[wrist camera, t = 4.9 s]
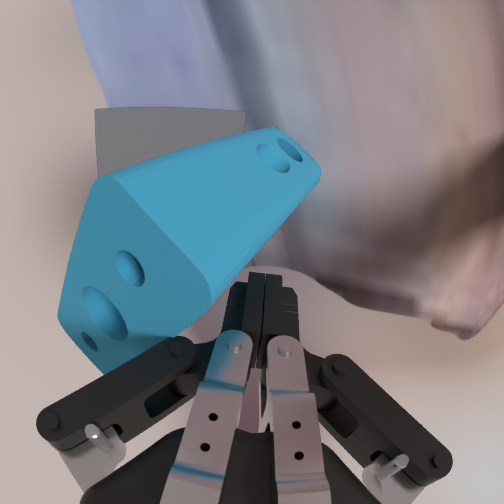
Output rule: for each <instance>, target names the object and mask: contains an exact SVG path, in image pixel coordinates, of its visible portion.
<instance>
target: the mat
mask: <svg viewBox="0 0 504 504" xmlns="http://www.w3.org/2000/svg"><path fill="white" fill-rule="evenodd" d="M245 118H246V112H242V111H231V110H219V109H203V108H180V107H128V108H106V109H96V110H95V136H96V154H97V167H98V177H101V176H103V175H106V174H109V173H111V172H114V171H117V170H119V169H122V168H125V167H128V166H131V165H133V164H136V163H139V162H142V161H145V160H148V159H151V158H154V157H157V156H160V155H163V154H167V153H170V152H173V151H176V150H180V149H183V148H187V147H190V146H194V145H197V144H201V143H204V142H208V141H212V140H216V139H219V138H223V137H227V136H231V135H236V134H240V133H244V128H245Z"/></svg>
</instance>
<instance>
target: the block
mask: <svg viewBox="0 0 504 504" xmlns="http://www.w3.org/2000/svg"><path fill="white" fill-rule="evenodd" d="M320 175H321V169H320V166H319V165H318V164H317V162H316V161H315V160H314V159H313V158H312V157H311V156H310V155H309V154H308V153H307V152H306V151H305V150H304V149H303V148H302V147H301V146H300V145H299V144H298V143H297V142H296V141H295V140H294V139H292V138H291V137H290V136H288V135H287V134H286V133H284V132H283V131H282V130H280V129H279V128H276V127H267V128H262V129H257V130H253V131H248V132H244V133H240V134H236V135H231V136H227V137H223V138H219V139H216V140H212V141H208V142H204V143H201V144H197V145H194V146H190V147H187V148H183V149H180V150H176V151H173V152H170V153H167V154H163V155H160V156H157V157H154V158H151V159H148V160H145V161H142V162H139V163H136V164H133V165H131V166H128V167H125V168H122V169H119V170H117V171H114V172H111V173H109V174H106V175H103V176H101V177H98V178H97V179H96V180H95V181H94V183H93V185H92V187H91V190H90V192H89V195H88V198H87V201H86V204H85V207H84V210H83V213H82V216H81V220H80V223H79V226H78V229H77V233H76V236H75V240H74V243H73V247H72V251H71V254H70V258H69V262H68V266H67V271H66V275H65V279H64V284H63V289H62V294H61V299H60V304H59V309H58V320H59V322H60V324H61V326H62V327H63V329H64V330H65V332H66V333H67V334H68V336H69V337H70V338H71V339H72V340H73V341H74V342H75V344H76V345H77V346H78V347H79V348H80V349H81V350H82V351H83V353H84V354H85V355H86V356H87V357H88V358H89V359H90V361H91V362H92V363H93V364H94V365H95V366H96V367H97V368H98V369H99V370H100V371H101V372H102V373H103V374H104V375H105V374H107V373H108V372H110V371H112V370H114V369H115V368H117V367H119V366H121V365H122V364H124V363H126V362H127V361H129V360H131V359H133V358H134V357H136V356H138V355H139V354H141V353H143V352H144V351H146V350H148V349H149V348H151V347H153V346H155V345H156V344H158V343H160V342H161V341H163V340H165V339H166V338H168V337H173V338H174V337H175V336H177V335H178V334H179V333H180V332H182V331H183V330H184V329H185V328H187V327H188V326H189V325H190V324H191V323H193V322H194V321H195V320H196V319H198V318H199V317H200V316H201V315H202V314H204V313H205V312H206V311H207V310H208V309H209V308H210V306H211V305H212V304H213V303H214V302H215V301H216V300H217V298H218V297H219V296H220V295H221V294H222V292H223V291H224V290H225V289H226V288H227V287H228V286H229V284H230V283H231V282H232V281H233V280H234V279H235V278H236V276H237V275H238V274H239V273H240V272H241V271H242V270H243V269H244V267H245V266H246V265H247V264H248V263H249V262H250V260H251V259H252V258H253V257H254V256H255V255H256V254H257V252H258V251H259V250H260V249H261V248H262V247H263V245H264V244H265V243H266V242H267V241H268V240H269V239H270V237H271V236H272V235H273V234H274V233H275V232H276V230H277V229H278V228H279V227H280V226H281V225H282V224H283V222H284V221H285V220H286V219H287V218H288V217H289V215H290V214H291V213H292V212H293V211H294V210H295V209H296V207H297V206H298V205H299V204H300V203H301V202H302V200H303V199H304V198H305V197H306V196H307V195H308V193H309V192H310V191H311V190H312V189H313V188H314V187H315V185H316V184H317V183H318V181H319V179H320Z"/></svg>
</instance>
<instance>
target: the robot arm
mask: <svg viewBox="0 0 504 504" xmlns="http://www.w3.org/2000/svg"><path fill="white" fill-rule="evenodd" d="M264 282H265V283H264ZM256 357H257V362H256ZM255 362H256V368H259V369H261V378H260V382H259V408H260V409H259V415H260V423H259V433H249V432H246V431H243V430H240V429H238V423H239V418H240V414H241V409H242V404H243V399H244V394H245V389H246V384H247V381H248V380H249V376H250V370H251V368H254V367H255ZM195 395H196V396H195ZM194 396H195V399H194V402H193V405H192V408H191V411H190V415H189V418H188V421H187V424H186V427H184V428H180V429H177V430H175V431H172V432H170V433H169V434H167V435H165V436H164V437H163V438H161V439H160V440H158V441H157V442H156V443H154V444H153V445H152V446H150V447H149V448H147V449H146V450H145V451H143V452H142V453H140V454H139V455H138V456H136V457H135V458H133V459H132V460H130V461H129V462H127V463H126V464H125V465H123V466H121V467H120V468H118V469H117V470H115V471H114V469H115V467H116V466H117V464H119V463H120V462H121V461H122V460H123V459H124V457H125V454H126V446H125V443H126V442H128V441H129V440H131V439H133V438H134V437H136V436H137V435H139V434H140V433H142V432H143V431H145V430H147V429H148V428H150V427H151V426H153V425H154V424H156V423H157V422H159V421H160V420H162V419H163V418H164V417H166V416H167V415H169V414H170V413H172V412H173V411H175V410H176V409H177V408H179V407H180V406H182V405H183V404H184V403H186V402H187V401H189V400H190V399H192V398H193V397H194ZM319 422H320V423H321V424H322V425H323V426H324V428H325V429H326V430H327V431H328V432H329V433H330V434H331V435H332V436H333V437H334V438H335V439H336V440H337V441H338V442H339V443H340V444H341V445H342V446H343V447H344V449H345V450H347V452H348V453H349V454H350V455H351V456H352V457H353V458H354V459H355V460H356V461H357V462H358V463H359V464H360V465H361V466H362V467H363V468H364V470H363V473H362V479H363V482H364V484H365V485H366V487H367V488H368V489H367V488H366V487H365V486H364V485H363V483H362V482H361V481H360V480H359V479H358V478H357V477H356V476H355V475H354V474H353V473H352V472H351V471H350V469H349V468H348V467H347V466H346V465H345V464H344V463H343V462H342V460H341V459H340V458H339V457H338V456H337V455H336V454H335V453H334V451H333V450H331V449H330V448H329V447H328V446H327V445H325V444H323V443H321V438H320V429H319ZM36 426H37V430H38V432H39V434H40V435H41V436H42V437H43V438H44V439H45V440H46V441H48V442H49V443H50V445H51V446H52V447H54V448H55V449H56V450H57V451H58V452H59V453H60V455H61V457H62V459H63V460H64V462H65V464H66V465H67V467H68V468H69V470H70V472H71V473H72V475H73V476H74V478H75V480H76V481H77V483H78V484H79V485H80V487H81V489H82V490H83V491H84V494H83V496H82V498H81V501H80V504H411V503H412V502H413V501H414V499H415V498H416V497H417V496H418V495H419V494H420V493H421V491H422V490H423V489H424V488H425V487H426V486H427V485H429V484H431V483H433V482H435V481H437V480H439V479H441V478H443V477H445V476H446V475H447V474H448V473H449V472H450V470H451V468H452V464H453V460H452V455H451V453H450V451H449V450H448V449H447V448H446V447H445V446H444V445H442V444H441V443H440V442H439V441H438V440H437V439H436V438H435V437H434V436H433V435H432V434H430V433H429V432H428V431H427V430H426V429H425V428H424V427H423V426H422V425H421V424H420V423H418V421H416V420H415V419H414V418H413V417H412V416H411V415H410V414H409V413H408V412H407V411H406V410H405V409H404V408H402V407H401V406H400V405H399V404H398V403H397V402H396V401H395V400H394V399H393V398H392V397H391V396H390V395H389V394H387V393H386V392H385V391H384V390H383V389H382V388H381V387H380V386H379V385H378V384H377V383H376V382H375V381H374V380H373V379H371V378H370V377H369V376H368V375H367V374H366V373H365V372H364V371H363V370H362V369H361V368H360V367H359V366H358V365H357V364H356V363H354V362H353V361H352V360H351V359H350V358H349V357H347V356H345V355H341V354H332V355H329V356H327V357H326V358H325V359H324V358H321V357H318V356H316V355H313V354H311V353H309V352H308V351H306V350H305V349H304V348H303V346H302V345H301V343H300V339H299V320H298V302H297V295H296V293H295V292H294V290H293V289H292V288H289V287H282V276H281V275H273V274H266V277H265V274H264V273H255V272H249V277H248V283H245V282H235V283H234V285H233V286H232V287H231V288H230V291H229V296H228V301H227V306H226V311H225V316H224V321H223V326H222V330H221V333H220V335H219V336H218V337H217V338H216V339H214V340H213V341H210V342H207V343H201V344H193V342H192V341H191V340H190V339H188V338H186V337H183V336H175V337H174V338H173V337H168V338H166V339H165V340H163V341H161V342H160V343H158V344H156V345H155V346H153V347H151V348H149V349H148V350H146V351H144V352H143V353H141V354H139V355H138V356H136V357H134V358H133V359H131V360H129V361H127V362H126V363H124V364H122V365H121V366H119V367H117V368H115V369H114V370H112V371H110V372H108V373H107V374H105V375H103V376H102V377H100V378H98V379H96V380H94V381H93V382H91V383H89V384H88V385H86V386H84V387H82V388H80V389H79V390H77V391H75V392H73V393H71V394H70V395H68V396H66V397H64V398H63V399H61V400H59V401H57V402H55V403H53V404H52V405H50V406H48V407H46V408H45V409H43V410H42V411H41V412H40V413H39V415H38V417H37V421H36Z"/></svg>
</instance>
